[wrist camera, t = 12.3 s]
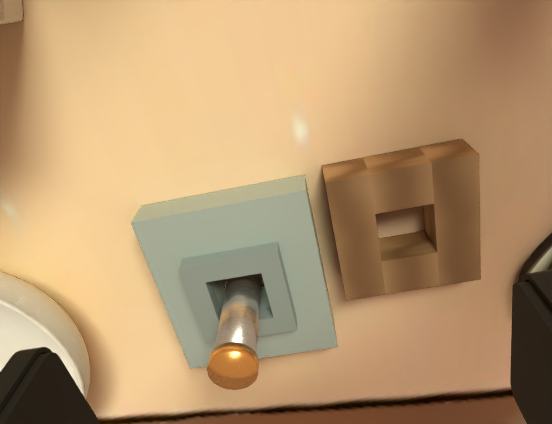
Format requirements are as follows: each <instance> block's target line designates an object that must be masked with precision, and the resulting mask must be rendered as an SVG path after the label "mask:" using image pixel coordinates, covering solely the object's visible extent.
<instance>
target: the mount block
mask: <svg viewBox="0 0 552 424" xmlns="http://www.w3.org/2000/svg"><path fill="white" fill-rule="evenodd" d="M322 170H323V175H324V181H325V186H326V192H327V197H328V203H329V208H330V214H331V219H332V225H333V231H334V236H335V242H336V247H337V253H338V258H339V264H340V269H341V275H342V280H343V286H344V291H345V296H346V301H347V300H353V299H359V298H366V297H372V296H378V295H385V294H391V293H397V292H404V291H410V290H417V289H423V288H429V287H436V286H442V285H448V284H455V283H461V282H467V281H474V280H480V279H481V268H480V191H479V154H478V153H477V152H476V151H475V150H474V149H473V148H472V147H471V146H470V145H468V144H467V143H466V142H465V141H464V140H463V139H457V140H452V141H447V142H442V143H437V144H431V145H426V146H421V147H416V148H410V149H405V150H400V151H395V152H390V153H384V154H379V155H374V156H369V157H364V158H358V159H353V160H348V161H343V162H338V163H332V164H327V165H322ZM418 206H423V208H424V221H425V231H420V232H415V233H409V234H403V235H397V236H391V237H385V238H380V239H378V232H377V224H376V216H375V214H378V213H384V212H390V211H395V210H401V209H407V208H412V207H418Z"/></svg>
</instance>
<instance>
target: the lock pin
mask: <svg viewBox="0 0 552 424" xmlns="http://www.w3.org/2000/svg"><path fill="white" fill-rule="evenodd" d="M261 287H262V274H261V273H259V274H253V275H247V276H241V277H235V278H229V279H227V285H226V290H225V295H224V300H223V306H222V311H221V316H220V321H219V327H218V332H217V337H216V342H215V348H214V350H213V351H212V352H211V354H210V358H209V363H208V369H207V371H208V375H209V377H210V379H211V380H212V381H213V382H214V383H215V384H217V385H218V386H220V387H223V388H226V389H232V390H236V389H243V388H246V387H248V386H250V385H251V384H252V383H253V382H254V381H255V380H256V378H257V375H258V364H259V359H258V356H257V354H256V352H257V339H258V326H259V313H260V300H261Z"/></svg>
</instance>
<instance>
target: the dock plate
mask: <svg viewBox="0 0 552 424" xmlns="http://www.w3.org/2000/svg"><path fill="white" fill-rule="evenodd" d="M131 224H132V227H133V229H134V232H135V234H136V236H137V239H138V241H139V244H140V246H141V249H142V251H143V254H144V256H145V259H146V261H147V263H148V266H149V268H150V271H151V273H152V276H153V278H154V281H155V283H156V285H157V288H158V290H159V293H160V295H161V298H162V300H163V303H164V305H165V308H166V310H167V312H168V315H169V317H170V320H171V322H172V325H173V327H174V330H175V332H176V334H177V337H178V339H179V342H180V344H181V347H182V349H183V352H184V354H185V356H186V359H187V361H188V364H189V366H190V369H192V368H198V367H205V366H208V363H209V358H210V354H211V352H212V351H213V350H214V348H215V342H216V337H217V332H218V327H219V321H220V316H221V311H222V306H223V300H224V295H225V287H224V284H223V281H222V280H223V279H229V278H235V277H241V276H247V275H253V274H259V273H261V274H262V278H263V281H264V285H265V287H262V288H261V300H260V313H259V326H258V339H257V352H256V354H257V356H258V359H260V358H267V357H274V356H281V355H287V354H294V353H301V352H308V351H315V350H322V349H329V348H335V347H338V345H337V338H336V331H335V324H334V319H333V314H332V309H331V304H330V299H329V294H328V289H327V284H326V279H325V274H324V269H323V264H322V259H321V254H320V249H319V244H318V239H317V234H316V229H315V224H314V219H313V215H312V210H311V205H310V200H309V195H308V190H307V185H306V180H305V175H300V176H295V177H290V178H284V179H279V180H274V181H269V182H263V183H258V184H253V185H248V186H242V187H237V188H232V189H227V190H221V191H216V192H211V193H206V194H200V195H195V196H190V197H185V198H179V199H174V200H169V201H164V202H158V203H153V204H148V205H143V206H141V207H140V209H139V211H138V212H137V214H136V215H135V217H134V219H133V220H132V222H131Z"/></svg>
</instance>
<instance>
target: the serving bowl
mask: <svg viewBox="0 0 552 424" xmlns="http://www.w3.org/2000/svg"><path fill="white" fill-rule="evenodd" d="M39 347H47V348H49V349H50V350H51V351H52V352H53V353H56V354H58V356H59V357H60V358H61V360H62V362H63V363H64V365H65V366H66V368H67V370H68V371H69V373H70V375H71V376H72V378H73V379H74V381H75V383H76V384H77V386H78V388H79V389H80V391H81V393H82V394H83V396H84V397H85V399H87V396H88V391H89V385H90V362H89V356H88V351H87V348H86V345H85V342H84V340H83V338H82V335H81V334H80V332H79V330H78V328H77V326H76V325H75V324H74V322H73V321H72V319H71V318H70V317H69V315H68V314H67V313H66V312H65V311H64V310H63V309H62V308H61V307H60V306H59V305H58V304H57V303H56V302H55V301H54V300H53V299H51V298H50V297H49V296H48V295H46V294H45V293H43V292H42V291H40V290H39V289H37V288H36V287H34V286H32V285H30V284H29V283H27V282H25V281H23V280H21V279H18V278H16V277H14V276H11V275H8V274H6V273H3V272H0V372H1V370H2V369H3V368H4V366H5V365H6V363H7V362H8V361H9V359H10V358H11V356H12V355H13V354H14V353H15V352H17V351H20V350H26V349H33V348H39Z"/></svg>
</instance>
